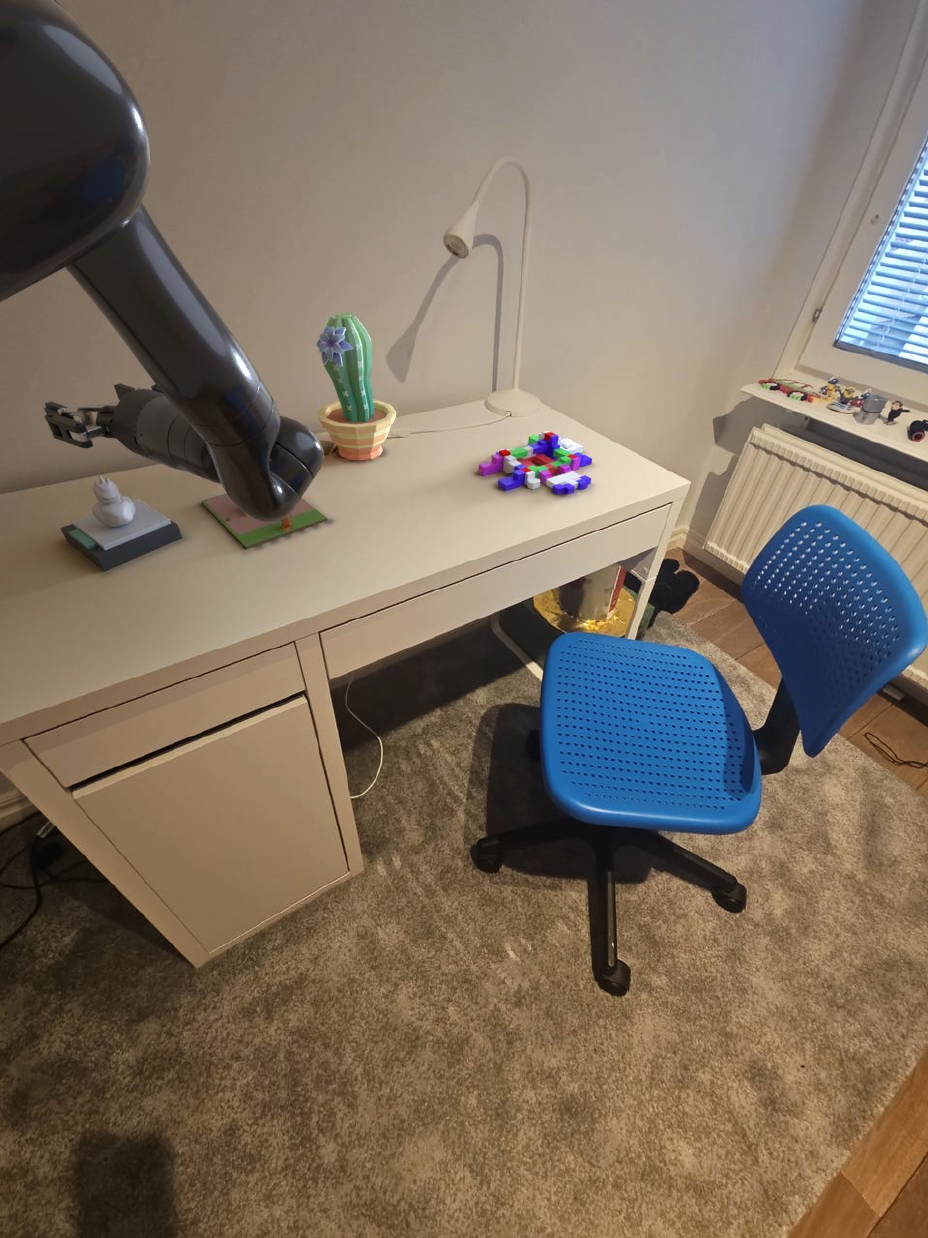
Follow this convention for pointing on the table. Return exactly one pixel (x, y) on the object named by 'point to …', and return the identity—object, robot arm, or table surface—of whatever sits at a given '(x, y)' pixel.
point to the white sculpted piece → (111, 504)
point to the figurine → (259, 531)
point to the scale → (121, 536)
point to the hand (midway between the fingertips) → (86, 401)
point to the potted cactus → (352, 391)
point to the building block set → (544, 454)
